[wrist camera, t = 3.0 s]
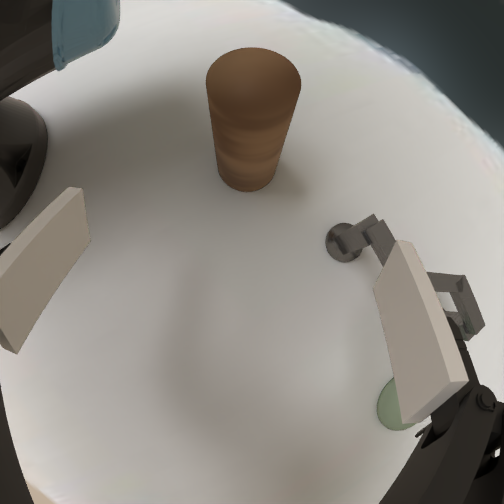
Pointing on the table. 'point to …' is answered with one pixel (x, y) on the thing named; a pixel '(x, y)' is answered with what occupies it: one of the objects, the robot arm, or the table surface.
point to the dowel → (250, 113)
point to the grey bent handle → (382, 241)
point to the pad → (390, 408)
